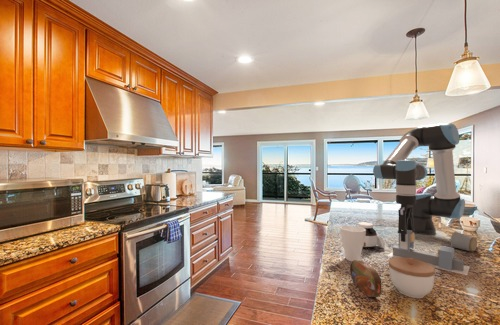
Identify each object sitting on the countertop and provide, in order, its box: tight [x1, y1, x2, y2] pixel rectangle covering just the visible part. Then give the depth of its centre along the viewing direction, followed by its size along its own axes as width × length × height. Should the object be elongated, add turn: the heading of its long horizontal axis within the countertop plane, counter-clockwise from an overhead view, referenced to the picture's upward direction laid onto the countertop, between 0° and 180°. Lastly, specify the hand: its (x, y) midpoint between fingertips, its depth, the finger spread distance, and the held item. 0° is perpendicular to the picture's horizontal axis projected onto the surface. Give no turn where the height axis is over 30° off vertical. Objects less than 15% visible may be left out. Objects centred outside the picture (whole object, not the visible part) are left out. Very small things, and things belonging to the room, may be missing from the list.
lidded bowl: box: [388, 257, 436, 299], centre depth 80 cm, size 13×13×11 cm
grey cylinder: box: [450, 231, 478, 253], centre depth 119 cm, size 11×8×8 cm
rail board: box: [386, 245, 471, 276], centre depth 104 cm, size 11×27×4 cm, turn 44°
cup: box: [339, 225, 366, 262], centre depth 107 cm, size 10×10×14 cm
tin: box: [349, 260, 383, 298], centre depth 81 cm, size 15×3×8 cm, turn 5°
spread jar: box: [357, 221, 386, 250], centre depth 123 cm, size 12×11×12 cm
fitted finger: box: [437, 245, 455, 272], centre depth 98 cm, size 7×4×7 cm, turn 134°
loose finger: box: [398, 231, 415, 252], centre depth 108 cm, size 7×4×7 cm, turn 134°
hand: (406, 246), depth 108 cm, fingers closed on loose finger, 7 cm apart
